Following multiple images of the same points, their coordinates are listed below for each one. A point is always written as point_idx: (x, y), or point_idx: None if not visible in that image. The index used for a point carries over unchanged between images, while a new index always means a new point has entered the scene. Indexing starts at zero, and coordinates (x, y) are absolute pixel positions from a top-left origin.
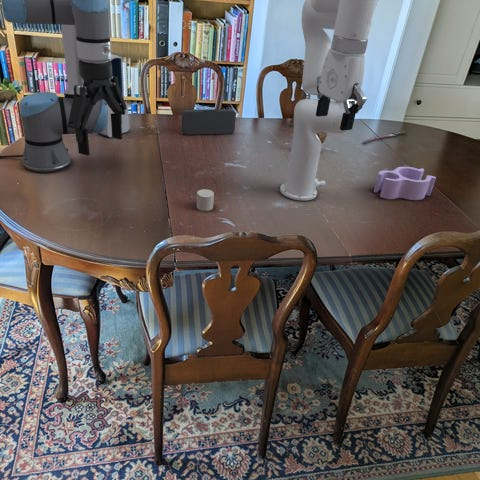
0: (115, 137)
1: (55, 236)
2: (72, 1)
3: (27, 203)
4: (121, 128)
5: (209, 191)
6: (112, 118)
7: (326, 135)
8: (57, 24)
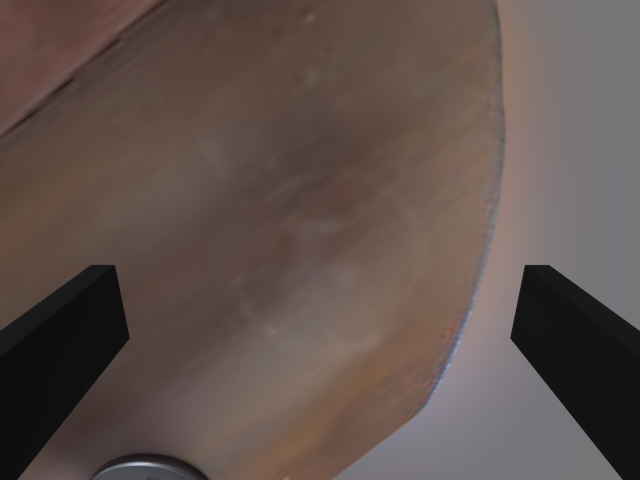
0: (120, 314)
1: (464, 243)
2: None
3: (356, 403)
4: (27, 313)
5: None
6: (1, 472)
7: None
8: None
